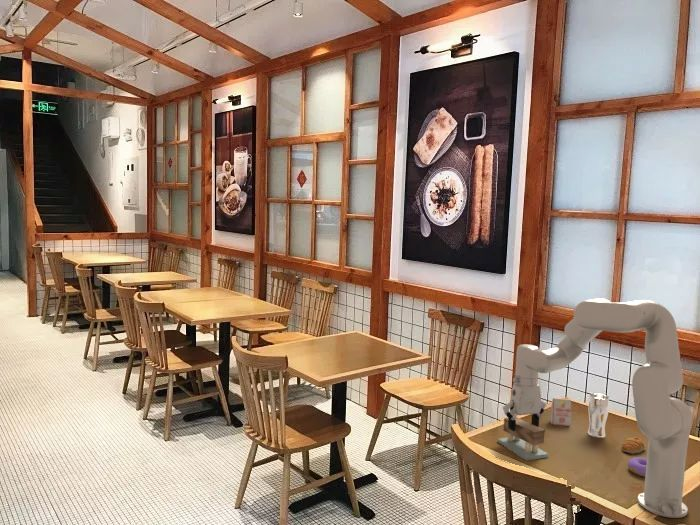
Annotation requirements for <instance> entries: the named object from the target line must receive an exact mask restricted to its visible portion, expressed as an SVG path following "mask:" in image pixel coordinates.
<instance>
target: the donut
mask: <svg viewBox="0 0 700 525" xmlns="http://www.w3.org/2000/svg"><path fill="white" fill-rule="evenodd" d="M646 464H647V457H641V456H639V457H637V456H636V457H633V458H630V459H629V460H628V462H627V467H628V470H629V471H630V472H631V473H633V474H635V475H637V476H639V477H644V478H645V476H646Z"/></svg>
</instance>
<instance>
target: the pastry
mask: <svg viewBox="0 0 700 525" xmlns="http://www.w3.org/2000/svg"><path fill="white" fill-rule="evenodd" d="M645 449H646V445H645V444H644V442H643V440H642V439H641V438H639V437H636V436H634V437H632V436H630V437H629V438H626V439H625V440H624V441H623V442H621V451H622V452H625V453H628V454H631V455H634V454H640V453H642V452H643V451H644V450H645Z"/></svg>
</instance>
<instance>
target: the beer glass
mask: <svg viewBox="0 0 700 525" xmlns="http://www.w3.org/2000/svg"><path fill="white" fill-rule="evenodd" d="M609 400H610V398H609V396H608V395H606V394H603V393H595V392H594V393H590V394H589V399H588V406H587V407H588V408H587V409H588V418H589V427H588V430H587V435H588V436H591V437H593V438H599V439H604V438H605V437H606V431H605V430H606V428H605V427H606V422H607V419H608V415H609V410H610V401H609Z"/></svg>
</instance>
